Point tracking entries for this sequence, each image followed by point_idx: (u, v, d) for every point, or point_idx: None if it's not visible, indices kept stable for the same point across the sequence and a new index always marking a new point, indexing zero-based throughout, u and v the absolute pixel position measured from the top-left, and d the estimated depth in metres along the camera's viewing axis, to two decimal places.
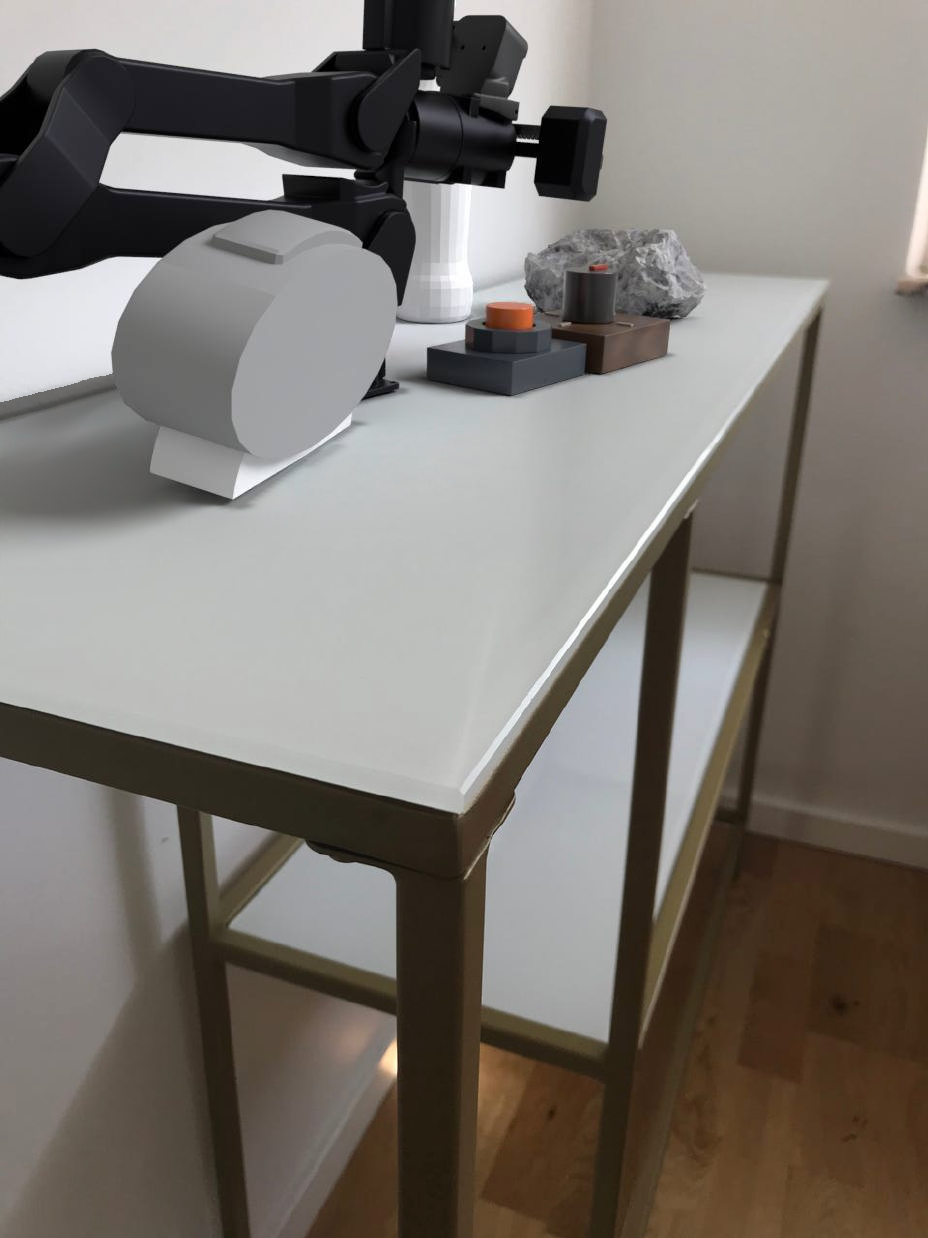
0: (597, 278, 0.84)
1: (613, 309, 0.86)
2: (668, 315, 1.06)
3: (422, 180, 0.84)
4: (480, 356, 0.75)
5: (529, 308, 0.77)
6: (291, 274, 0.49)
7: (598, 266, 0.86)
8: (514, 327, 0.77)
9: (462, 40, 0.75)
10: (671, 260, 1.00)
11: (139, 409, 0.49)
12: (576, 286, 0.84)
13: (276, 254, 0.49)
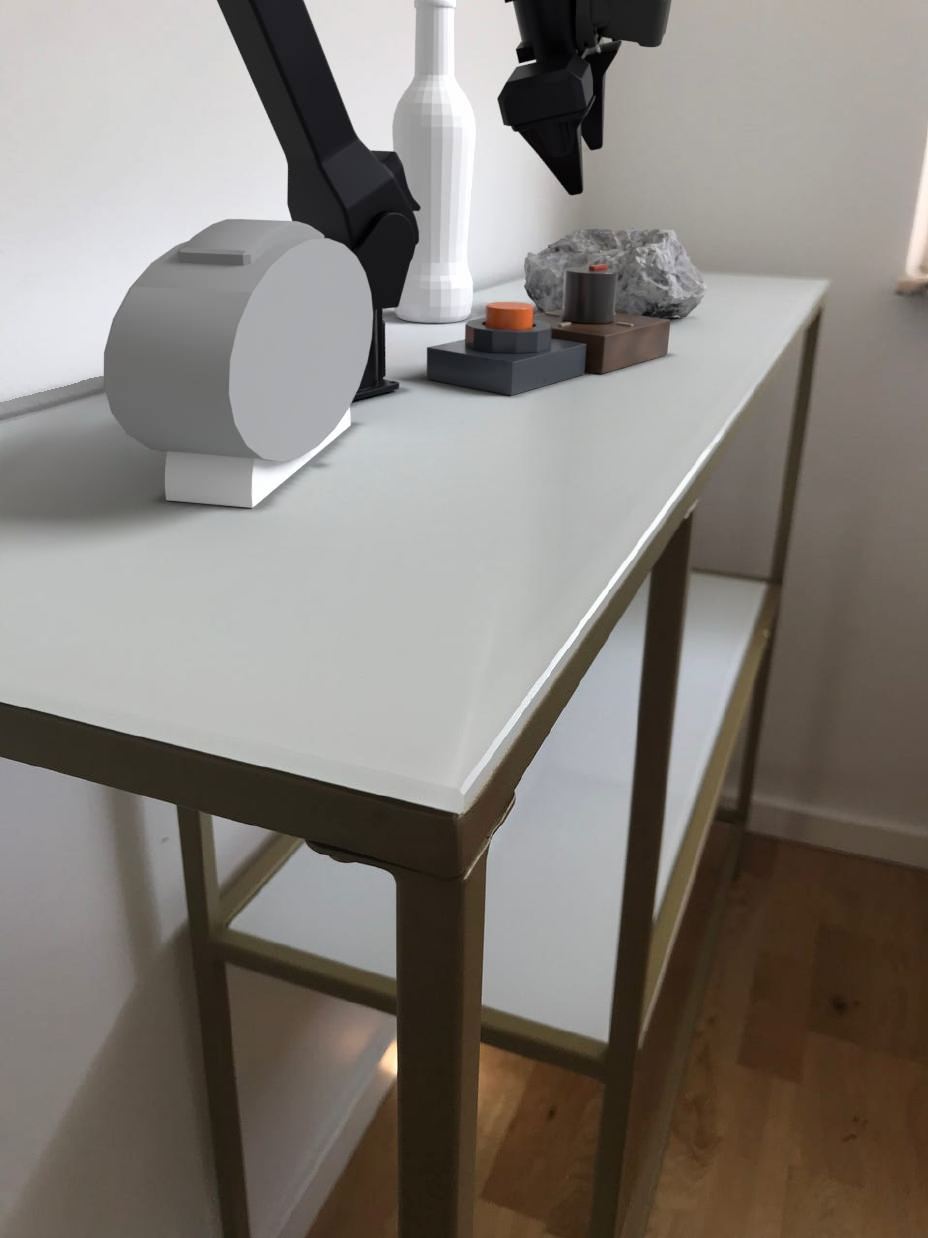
0: (597, 278, 0.84)
1: (613, 309, 0.86)
2: (668, 315, 1.06)
3: None
4: (480, 356, 0.75)
5: (529, 308, 0.77)
6: (262, 270, 0.48)
7: (598, 266, 0.86)
8: (514, 327, 0.77)
9: None
10: (671, 259, 1.00)
11: (142, 437, 0.49)
12: (576, 286, 0.84)
13: (243, 255, 0.49)
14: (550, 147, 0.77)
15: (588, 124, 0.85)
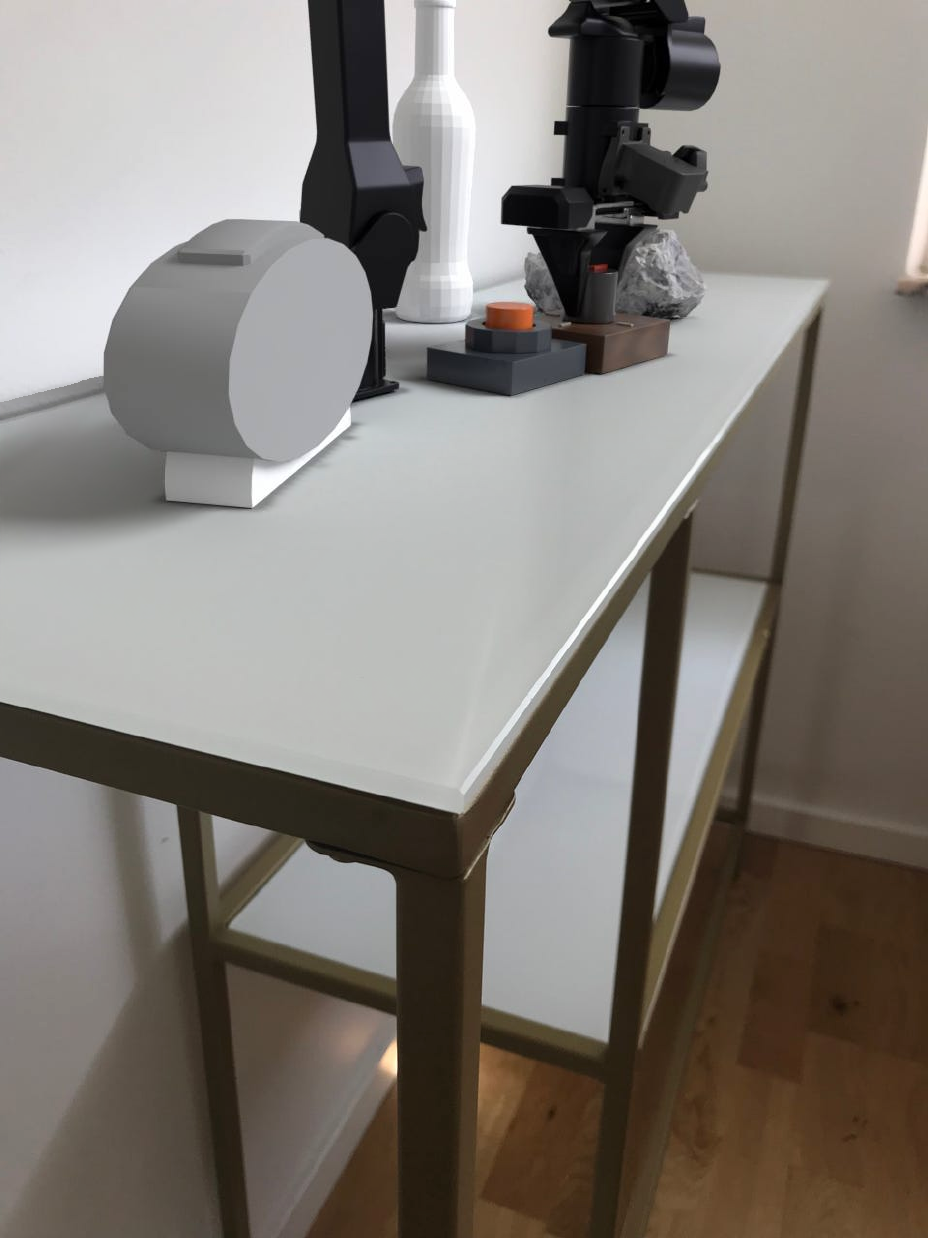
0: (597, 278, 0.84)
1: (613, 309, 0.86)
2: (668, 315, 1.06)
3: None
4: (480, 356, 0.75)
5: (529, 308, 0.77)
6: (262, 270, 0.48)
7: (598, 266, 0.86)
8: (514, 327, 0.77)
9: (682, 163, 0.79)
10: (671, 259, 1.00)
11: (142, 437, 0.49)
12: None
13: (243, 255, 0.49)
14: (558, 263, 0.83)
15: None
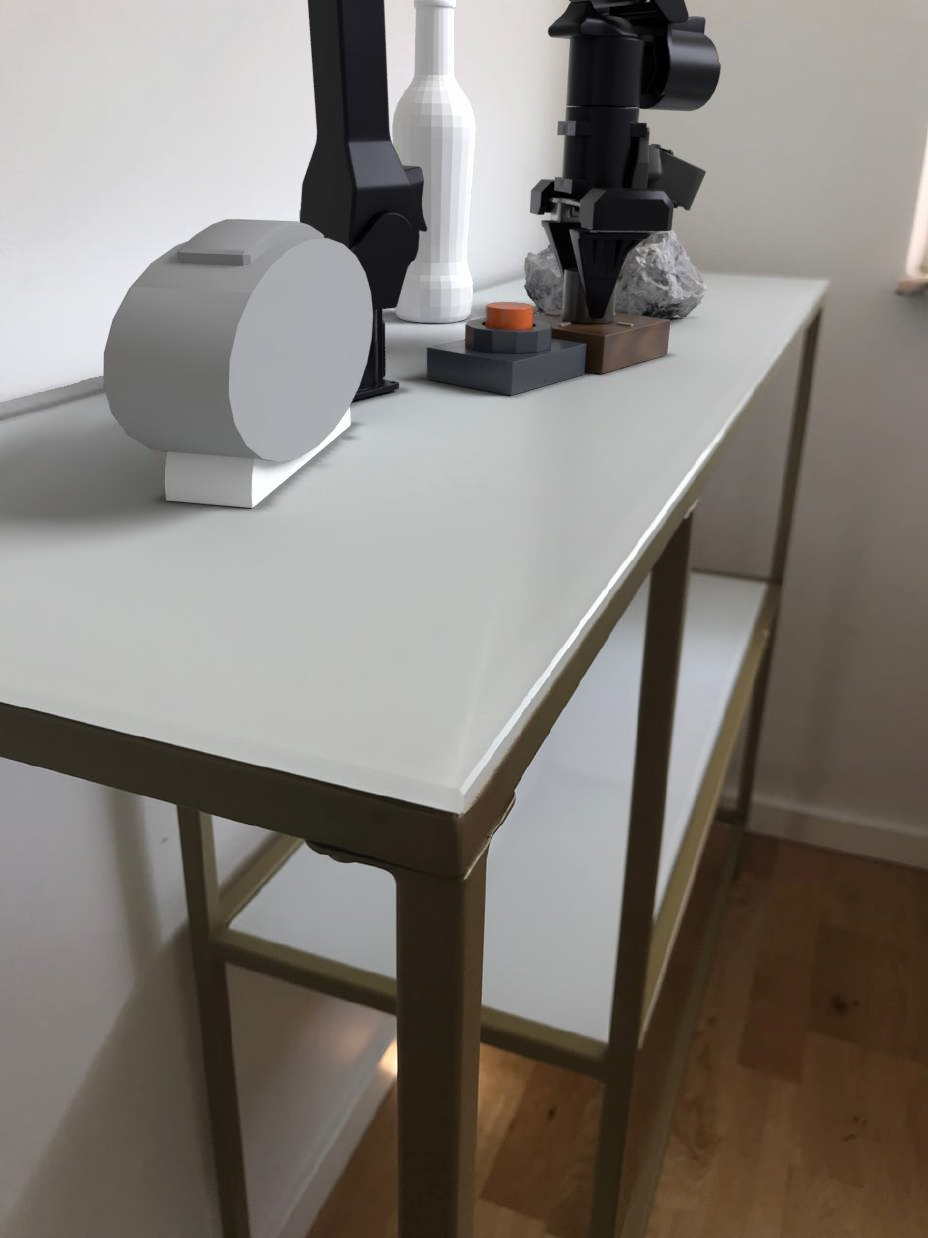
0: None
1: None
2: (668, 315, 1.06)
3: (540, 189, 0.88)
4: (480, 356, 0.75)
5: (529, 308, 0.77)
6: (262, 271, 0.48)
7: None
8: (514, 327, 0.77)
9: None
10: (671, 259, 1.00)
11: (142, 437, 0.49)
12: None
13: (243, 255, 0.49)
14: (595, 266, 0.82)
15: None
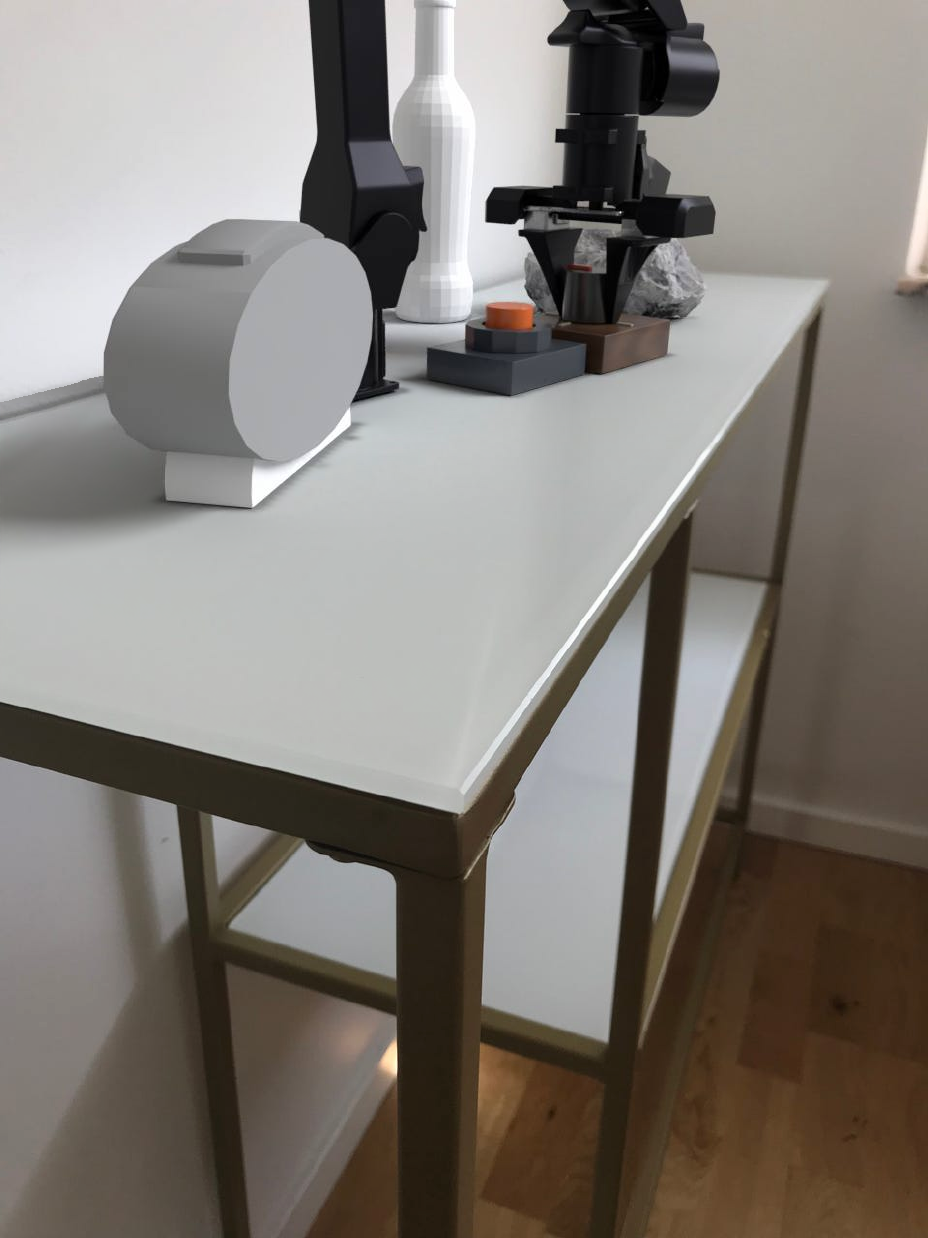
0: None
1: None
2: (668, 315, 1.06)
3: (513, 198, 0.84)
4: (480, 356, 0.75)
5: (529, 308, 0.77)
6: (262, 270, 0.48)
7: (585, 265, 0.86)
8: (514, 327, 0.77)
9: None
10: (671, 259, 1.00)
11: (142, 437, 0.49)
12: None
13: (243, 255, 0.49)
14: (625, 272, 0.83)
15: None
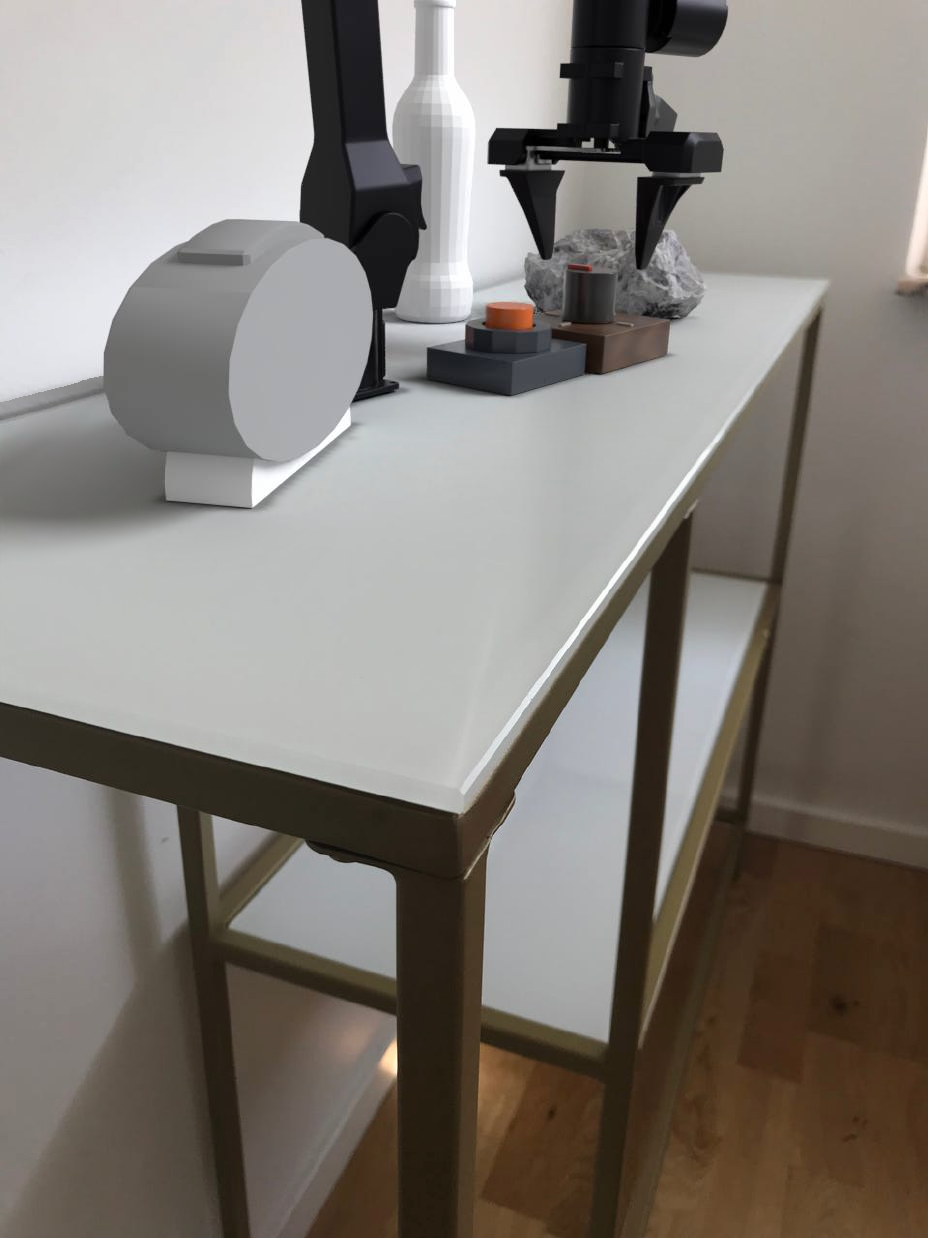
0: None
1: None
2: (668, 315, 1.06)
3: (516, 138, 0.83)
4: (480, 356, 0.75)
5: (529, 308, 0.77)
6: (262, 270, 0.48)
7: (585, 265, 0.86)
8: (514, 327, 0.77)
9: None
10: (671, 260, 1.00)
11: (142, 437, 0.49)
12: (613, 286, 0.85)
13: (242, 255, 0.49)
14: (655, 214, 0.80)
15: (547, 233, 0.87)
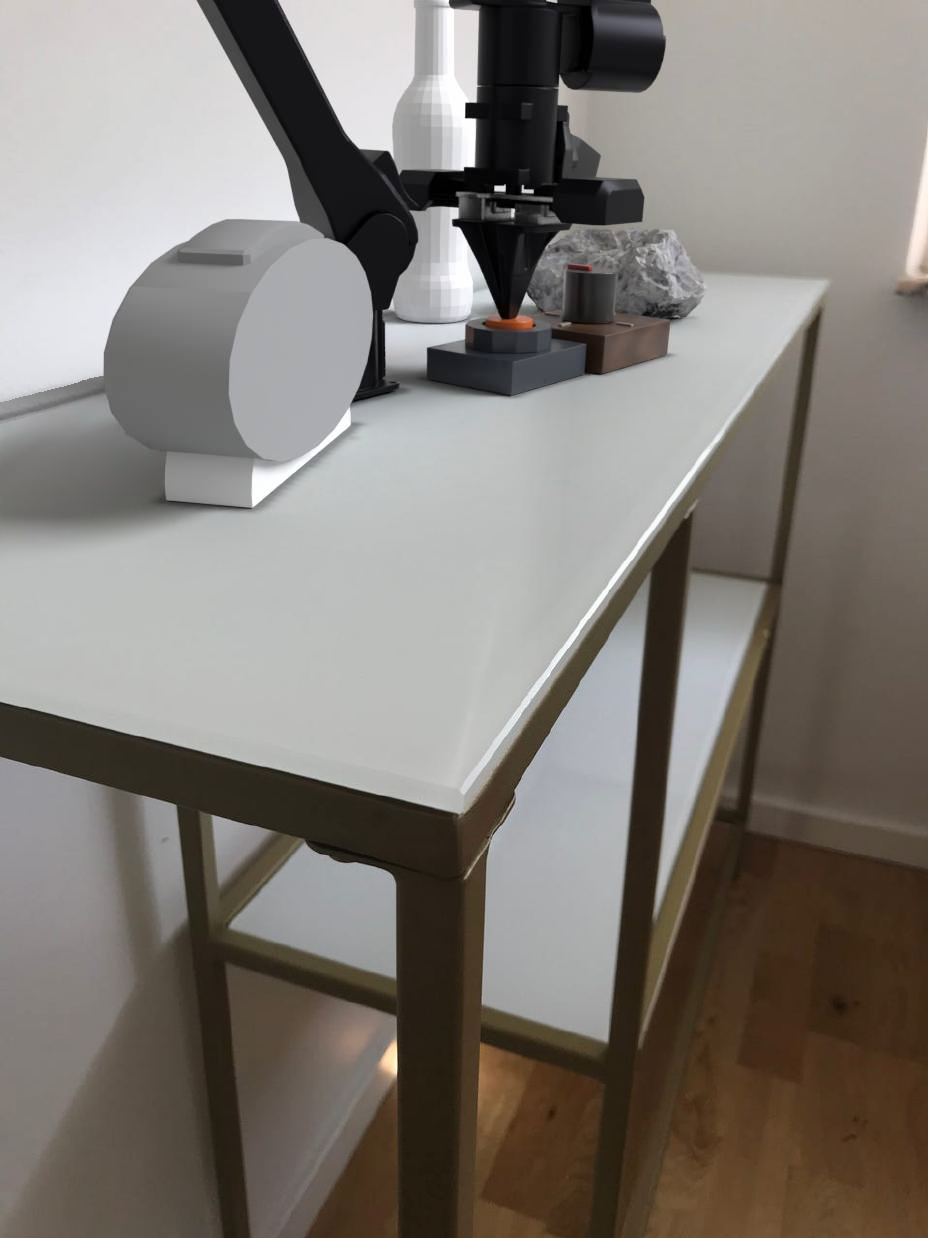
0: None
1: None
2: (668, 315, 1.06)
3: (422, 181, 0.76)
4: (480, 356, 0.75)
5: (528, 321, 0.77)
6: (262, 270, 0.48)
7: (585, 265, 0.86)
8: None
9: None
10: (671, 260, 1.00)
11: (142, 437, 0.49)
12: (613, 286, 0.85)
13: (243, 254, 0.49)
14: (520, 262, 0.75)
15: None
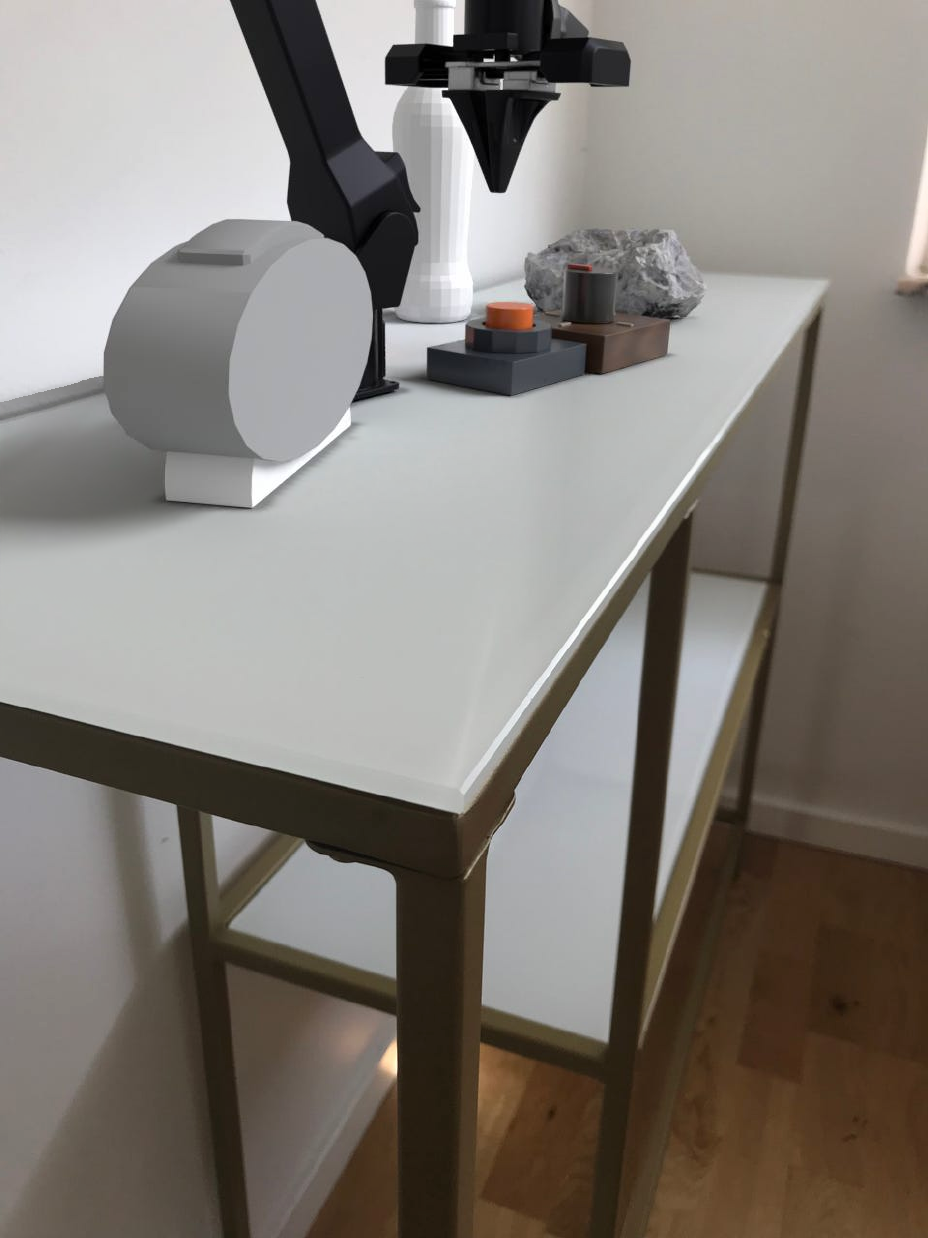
0: None
1: None
2: (668, 315, 1.06)
3: (412, 53, 0.77)
4: (480, 356, 0.75)
5: (529, 308, 0.77)
6: (262, 270, 0.48)
7: (585, 265, 0.86)
8: (514, 327, 0.77)
9: None
10: (671, 260, 1.00)
11: (142, 437, 0.49)
12: (613, 286, 0.85)
13: (242, 255, 0.49)
14: (509, 132, 0.76)
15: None
